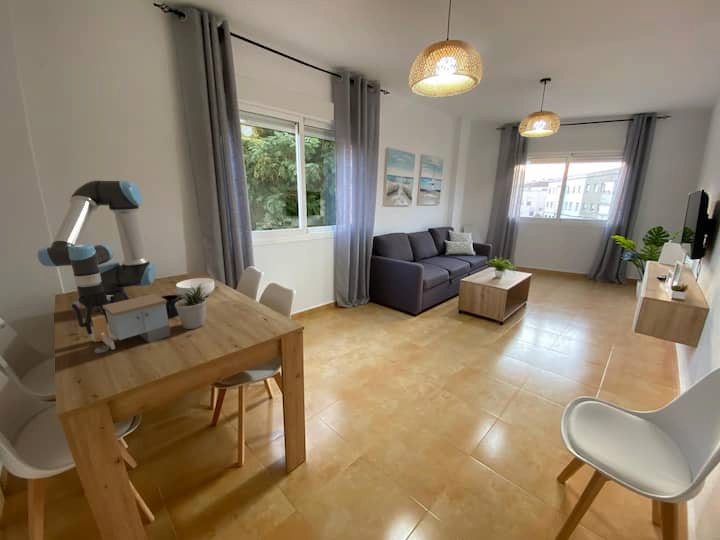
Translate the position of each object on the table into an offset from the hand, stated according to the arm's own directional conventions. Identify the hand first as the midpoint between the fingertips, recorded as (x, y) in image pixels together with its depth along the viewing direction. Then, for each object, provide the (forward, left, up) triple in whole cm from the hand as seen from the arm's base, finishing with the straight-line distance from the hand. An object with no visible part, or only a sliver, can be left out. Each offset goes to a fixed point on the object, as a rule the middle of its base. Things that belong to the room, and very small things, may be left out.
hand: (101, 338), depth 122 cm
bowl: (-24, +50, -1) cm, 55 cm away
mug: (-5, +28, -1) cm, 28 cm away
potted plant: (+16, +30, -1) cm, 34 cm away
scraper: (+6, 0, 0) cm, 6 cm away
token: (+11, -3, -1) cm, 12 cm away
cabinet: (+12, +10, -1) cm, 16 cm away
